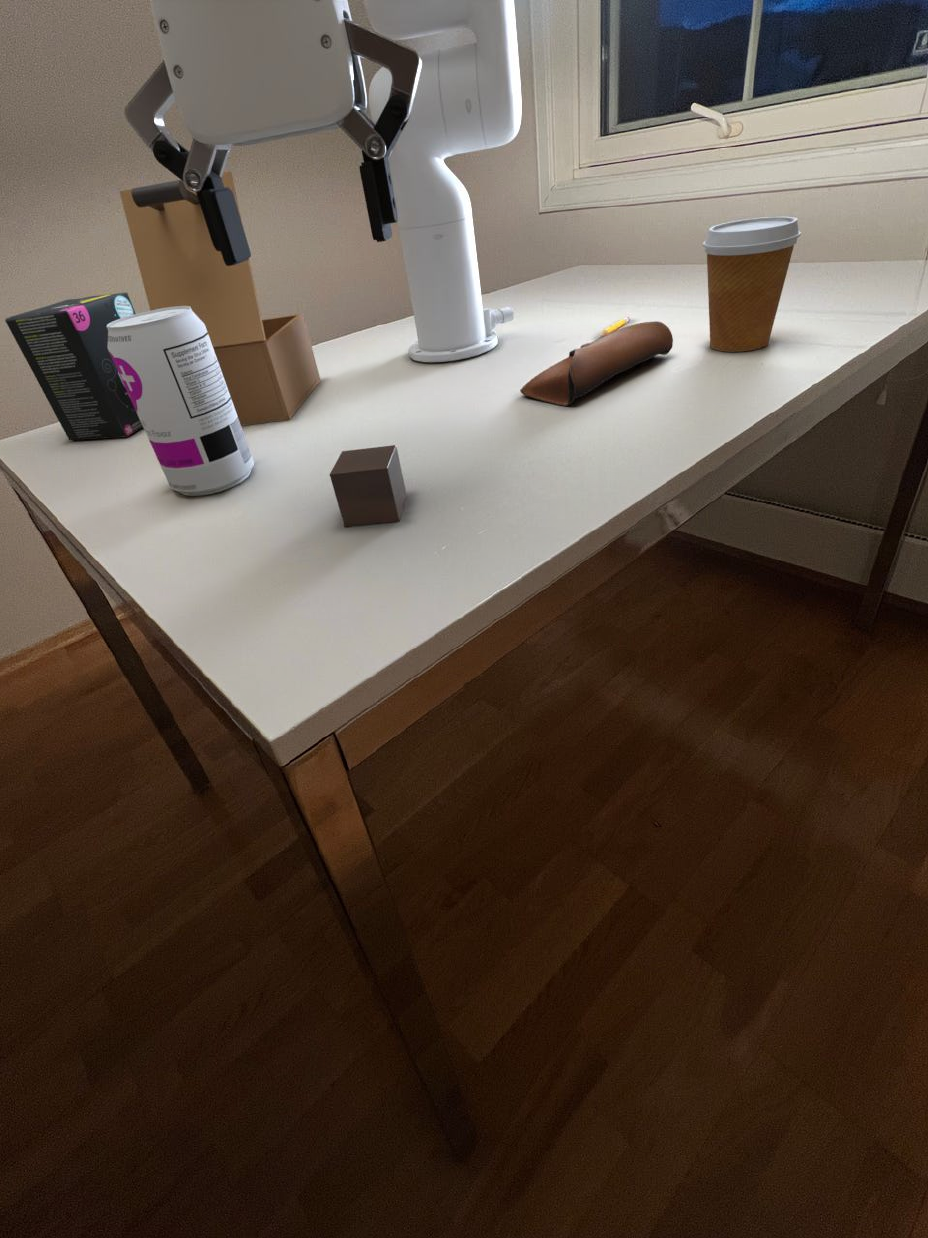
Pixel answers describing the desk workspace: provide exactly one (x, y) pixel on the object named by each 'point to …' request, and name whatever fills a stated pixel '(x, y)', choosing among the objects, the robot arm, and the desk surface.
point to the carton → (270, 371)
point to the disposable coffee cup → (747, 279)
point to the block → (369, 486)
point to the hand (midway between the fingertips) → (310, 250)
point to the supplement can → (181, 399)
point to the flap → (191, 262)
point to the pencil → (615, 326)
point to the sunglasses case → (599, 362)
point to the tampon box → (79, 364)
